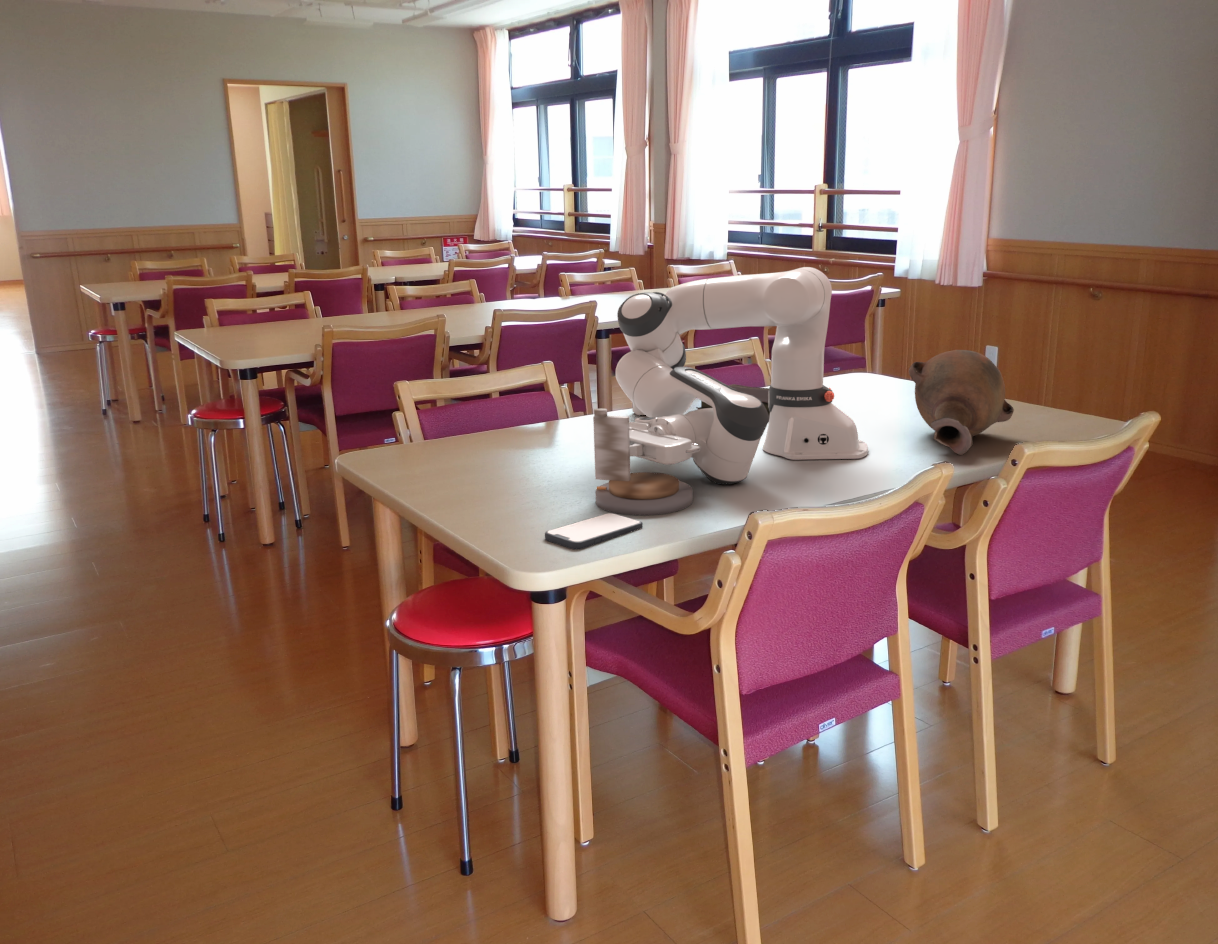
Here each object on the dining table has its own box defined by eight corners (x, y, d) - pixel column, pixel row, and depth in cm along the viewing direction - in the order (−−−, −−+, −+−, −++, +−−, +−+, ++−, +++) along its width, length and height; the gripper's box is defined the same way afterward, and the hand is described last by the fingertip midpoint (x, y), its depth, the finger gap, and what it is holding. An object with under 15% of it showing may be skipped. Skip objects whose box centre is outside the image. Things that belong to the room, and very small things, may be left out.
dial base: (699, 489, 190) (699, 476, 190) (684, 517, 173) (684, 504, 173) (608, 485, 194) (607, 473, 194) (584, 513, 177) (584, 500, 177)
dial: (686, 481, 187) (685, 405, 183) (668, 501, 175) (667, 420, 171) (607, 477, 192) (605, 402, 188) (585, 495, 180) (582, 416, 176)
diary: (734, 400, 276) (734, 382, 274) (813, 410, 259) (814, 391, 258) (694, 411, 262) (694, 393, 261) (775, 423, 246) (775, 403, 245)
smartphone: (610, 520, 175) (541, 541, 165) (609, 511, 175) (541, 531, 164) (646, 530, 169) (577, 553, 158) (646, 521, 169) (577, 543, 158)
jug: (930, 423, 239) (906, 474, 215) (914, 346, 233) (888, 390, 209) (1020, 412, 229) (1005, 465, 205) (1006, 331, 223) (989, 376, 198)
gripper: (706, 464, 186) (650, 479, 178) (636, 446, 201) (582, 459, 193) (705, 431, 184) (649, 444, 176) (635, 415, 200) (580, 427, 192)
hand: (613, 452), depth 185 cm, fingers closed
